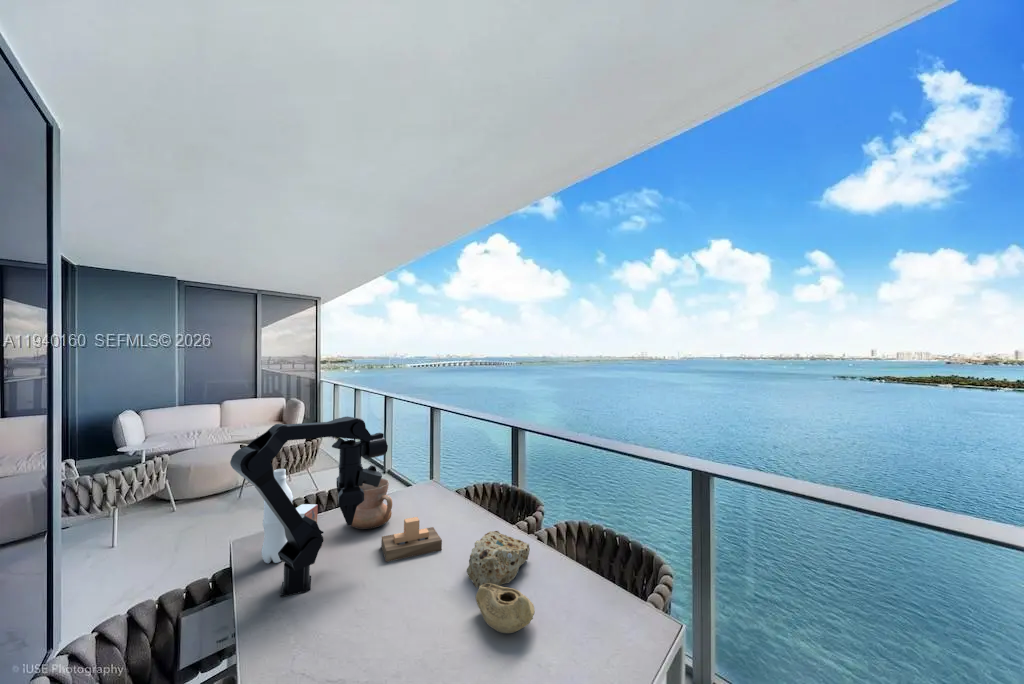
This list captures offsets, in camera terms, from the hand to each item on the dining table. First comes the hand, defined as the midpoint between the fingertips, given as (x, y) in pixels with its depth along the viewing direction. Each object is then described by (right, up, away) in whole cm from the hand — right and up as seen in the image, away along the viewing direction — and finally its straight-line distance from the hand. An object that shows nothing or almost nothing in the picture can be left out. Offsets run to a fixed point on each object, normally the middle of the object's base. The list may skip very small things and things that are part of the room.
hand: (348, 518), depth 107 cm
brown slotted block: (+15, -13, +9) cm, 22 cm away
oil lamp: (+44, -12, -24) cm, 51 cm away
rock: (+42, -13, -3) cm, 44 cm away
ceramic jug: (-3, -14, +26) cm, 30 cm away
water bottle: (-22, -13, +2) cm, 25 cm away
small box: (-20, -13, +12) cm, 27 cm away
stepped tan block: (+15, -13, +9) cm, 22 cm away
